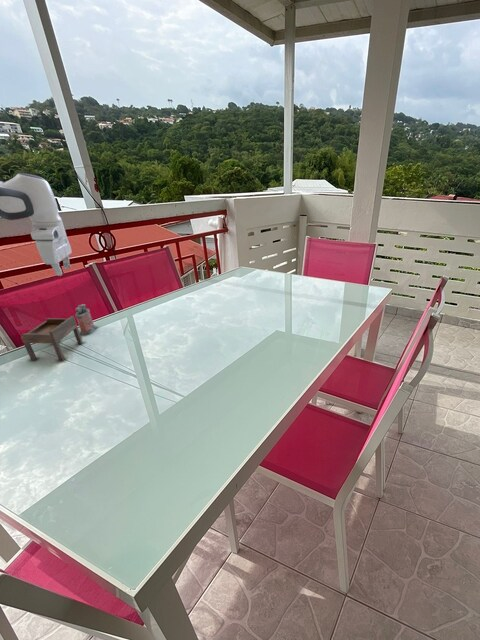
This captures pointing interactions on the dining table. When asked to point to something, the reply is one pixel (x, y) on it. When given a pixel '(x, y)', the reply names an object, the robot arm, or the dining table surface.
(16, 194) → the robot arm
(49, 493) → the dining table surface
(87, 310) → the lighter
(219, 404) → the dining table surface
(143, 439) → the dining table surface
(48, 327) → the stand
